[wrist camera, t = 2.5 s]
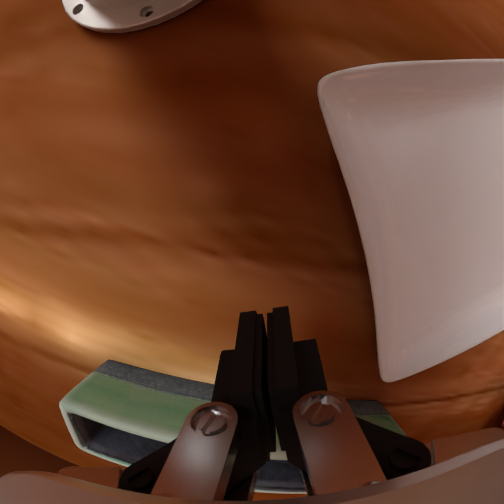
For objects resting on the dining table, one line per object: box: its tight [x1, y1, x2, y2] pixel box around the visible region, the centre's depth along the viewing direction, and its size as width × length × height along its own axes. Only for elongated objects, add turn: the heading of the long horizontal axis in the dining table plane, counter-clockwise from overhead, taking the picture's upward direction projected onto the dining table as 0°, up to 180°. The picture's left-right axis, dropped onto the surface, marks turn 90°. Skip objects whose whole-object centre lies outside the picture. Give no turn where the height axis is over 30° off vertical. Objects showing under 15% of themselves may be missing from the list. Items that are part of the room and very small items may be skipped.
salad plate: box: [317, 59, 504, 382], centre depth 16 cm, size 21×21×3 cm
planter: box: [59, 360, 406, 494], centre depth 21 cm, size 28×7×7 cm, turn 79°
